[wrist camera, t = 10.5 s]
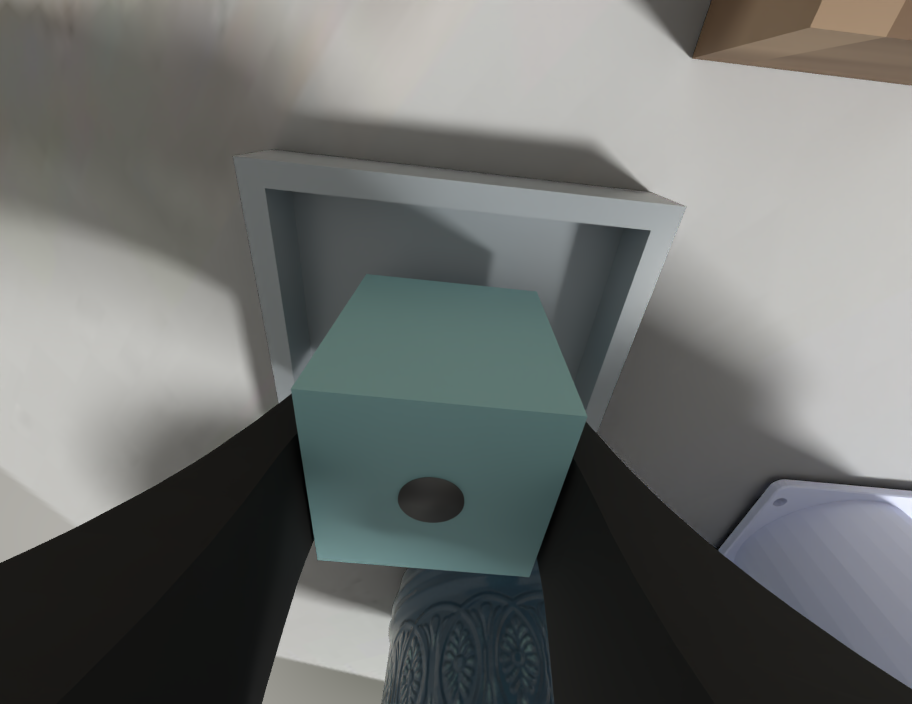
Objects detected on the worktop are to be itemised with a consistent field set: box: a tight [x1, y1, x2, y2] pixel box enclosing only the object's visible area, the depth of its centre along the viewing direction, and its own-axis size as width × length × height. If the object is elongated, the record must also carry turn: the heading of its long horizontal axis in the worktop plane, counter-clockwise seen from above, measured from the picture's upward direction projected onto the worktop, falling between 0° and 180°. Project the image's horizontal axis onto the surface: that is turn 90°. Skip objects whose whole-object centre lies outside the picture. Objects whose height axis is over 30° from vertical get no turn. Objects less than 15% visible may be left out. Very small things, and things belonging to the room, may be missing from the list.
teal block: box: [291, 274, 588, 577], centre depth 9 cm, size 4×4×5 cm
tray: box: [233, 149, 686, 434], centre depth 12 cm, size 10×10×2 cm
